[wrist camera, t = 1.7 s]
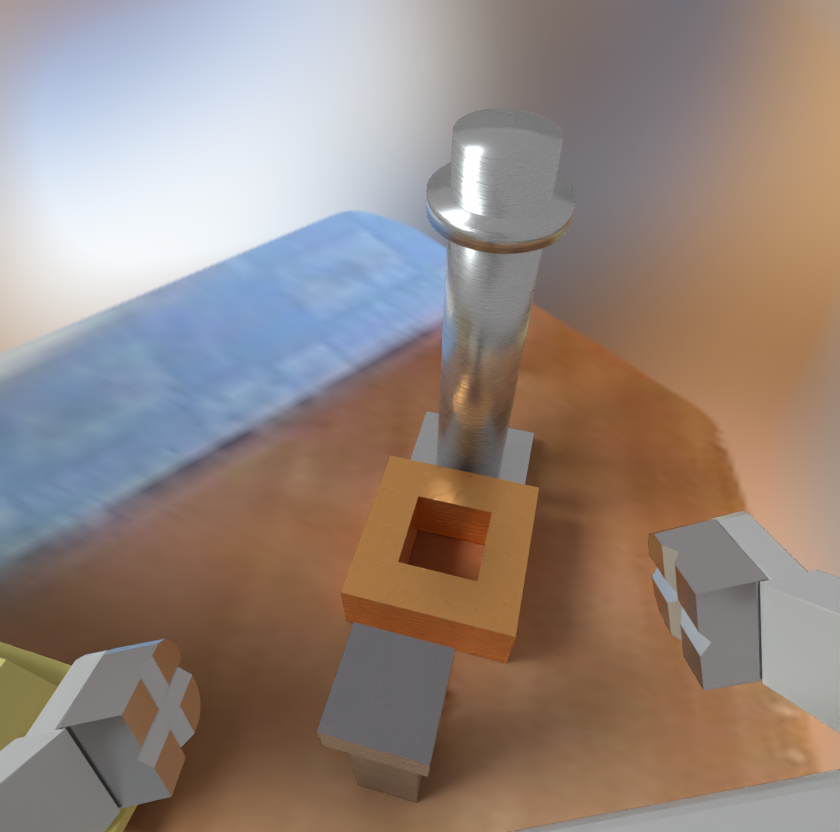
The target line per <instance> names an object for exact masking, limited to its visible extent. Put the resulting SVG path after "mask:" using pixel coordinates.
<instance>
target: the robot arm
mask: <svg viewBox="0 0 840 832" xmlns="http://www.w3.org/2000/svg"><path fill="white" fill-rule="evenodd" d="M648 546H649V555H650V556H651V558H652V560H653V561H654V563H655V564H656V566H657V569H656V571H655V573H654V574H653V576H652V581H653V588H654V594H655V597H656V601H657V604H658V608H659V611H660V613H661V616H662V618H663V620H664V623H665V624H666V626H667V628H668V630H669V632H670V633H671V635H673V636H675V637H676V638H678V639H680V640H682V646H683V656H684V658H685V660H686V661H687V663H688V665H689V666H690V668H691V670H692V672H693V673H694V675H695V677H696V678H697V680H698V682H699V684H700V685H701V687H702V689H703V690H710V689H716V688H721V687H727V686H733V685H739V684H745V683H751V682H757V681H762V682H763V684H764V685H766V686H767V687H769V688H770V689H772V690H773V691H775V692H777V693H778V694H780V695H781V696H783V697H784V698H786V699H787V700H789V701H790V702H792V703H793V704H795V705H797V706H798V707H800V708H801V709H803V710H804V711H806V712H807V713H809V714H810V715H812V716H813V717H815V718H817V719H818V720H820V721H821V722H823V723H825V724H826V725H827V726H829V727H830V728H832V729H834V730H835V731H837V732H838V733H840V578H839V577H836V576H834V575H831V574H828V573H825V572H822V571H820V570H815V571H810V572H808V571H807V570H806V569H804V567H803V566H802V565H801V564H800V563H798V562H797V560H796V559H794V558H793V557H792V556H791V555H790V554H789V553H788V552H787V551H786V550H785V549H784V548H783V547H782V546H781V545H780V544H779V543H778V542H777V541H776V540H775V539H774V538H773V537H772V536H771V535H770V534H769V533H768V532H767V531H766V530H765V529H764V528H763V527H762V526H761V525H760V524H759V523H758V522H757V521H756V520H755V519H754V518H753V517H752V516H751V515H750V514H749V513H747V512H744V511H740V512H736V513H732V514H728V515H724V516H720V517H716V518H711V520H707V521H703V522H698V523H694V524H690V525H685V526H681V527H676V528H672V529H667V530H663V531H658V532H654V533H649V538H648ZM181 657H182V654H181V653H180V651H179V649H178V648H177V646H176V644H175V643H174V641H172V640H168V639H161V640H155V641H150V642H145V643H140V644H135V645H130V646H124V647H119V648H114V649H111V650H105V651H100V652H96V653H91V654H86V655H84V656H82V657H80V658H78V659H77V660H75V662H74V663H73V665H72V666H71V668H70V669H69V671H68V672H67V674H66V675H65V677H64V678H63V680H62V681H61V683H60V684H59V686H58V687H57V689H56V690H55V692H54V694H53V695H52V697H51V698H50V700H49V701H48V703H47V704H46V706H45V707H44V709H43V710H42V712H41V713H40V715H39V716H38V718H37V719H36V721H35V722H34V724H33V725H32V727H31V728H30V730H29V731H28V733H27V734H26V736H25V737H21V738H16V739H15V740H14V741H12V742H11V743H10V744H9V745H7V746H6V747H5V748H4V749H2V750H1V751H0V832H104V831H105V830H106V829H107V828H108V827H109V825H110V824H111V823H112V822H113V820H114V819H115V818H116V817H117V815H118V814H119V813H120V809H121V808H126V807H130V806H134V805H139V804H143V803H147V802H151V801H156V800H160V799H164V798H169V797H172V794H173V791H174V789H175V786H176V783H177V780H178V778H179V775H180V772H181V769H182V767H183V764H184V761H185V758H186V757H185V755H184V753H183V750H182V748H181V747H182V746H183V745H184V744H185V743H186V742H187V741H188V740H189V739H190V738H191V737H192V735H193V734H194V733H195V731H196V728H197V725H198V722H199V719H200V704H201V698H200V694H199V690H198V685H197V683H196V681H195V679H194V677H193V675H192V674H190V673H188V672H187V671H185V670H183V669H181V668H180V667H179V663H180V660H181ZM509 832H840V769H838V770H833V771H828V772H822V773H817V774H812V775H806V776H801V777H796V778H790V779H785V780H780V781H774V782H769V783H764V784H759V785H753V786H748V787H743V788H737V789H732V790H727V791H721V792H716V793H711V794H706V795H700V796H695V797H690V798H684V799H679V800H674V801H668V802H663V803H658V804H652V805H647V806H642V807H636V808H631V809H626V810H621V811H615V812H610V813H605V814H599V815H594V816H589V817H583V818H578V819H573V820H567V821H562V822H557V823H551V824H546V825H541V826H536V827H530V828H525V829H520V830H514V831H509Z"/></svg>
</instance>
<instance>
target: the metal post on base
mask: <svg viewBox="0 0 840 832" xmlns="http://www.w3.org/2000/svg"><path fill="white" fill-rule="evenodd" d="M563 136H564V135H563V132H562V130H561V128H560V127H559V126H558V125H557V124H556V123H555V122H553V121H552V120H550V119H548V118H546V117H544V116H542V115H539V114H536V113H532V112H529V111H524V110H518V109H504V108H502V109H487V110H481V111H477V112H473V113H470V114H468V115H466V116H464V117H462V118H461V119H459V120H458V121H457V122H456V123H455V125H454V128H453V140H452V161H451V163H449V164H447V165H445V166H443V167H441V168H440V169H439V170H437V171H436V172H435V173H434V174H433V175H432V176H431V178H430V180H429V182H428V184H427V204H426V209H427V210H426V212H427V217H428V220H429V222H430V224H431V225H432V227H433V228H434V229H435V230H436V231H437V232H438V233H439V234H441V235H442V236H443V237H445V238H446V239H447V259H446V279H445V298H444V318H443V338H442V358H441V377H440V397H439V414H438V413H433V412H428V411H427V412H426V415H425V418H424V421H423V424H422V427H421V430H420V433H419V436H418V439H417V442H416V445H415V448H414V451H413V454H412V457H411V460H409V459H405V458H400V457H395V456H391V455H390V458H389V461H388V463H387V466H386V469H385V472H384V474H383V477H382V480H381V483H380V485H379V488H378V491H377V494H376V496H375V499H374V502H373V505H372V507H371V510H370V513H369V516H368V518H367V521H366V524H365V527H364V529H363V532H362V535H361V538H360V540H359V543H358V546H357V549H356V551H355V554H354V557H353V560H352V562H351V565H350V568H349V571H348V573H347V576H346V579H345V582H344V584H343V587H342V590H341V596H342V601H343V606H344V611H345V615H346V620H347V622H351V623H354V622H355V623H359V624H363V625H367V626H371V627H374V628H378V629H382V630H386V631H390V632H393V633H397V634H401V635H405V636H409V637H412V638H416V639H420V640H424V641H428V642H431V643H435V644H439V645H443V646H447V647H450V648H454V649H455V650H458V651H461V652H465V653H469V654H473V655H477V656H480V657H484V658H488V659H492V660H496V661H499V662H503V663H507V661H508V658H509V655H510V652H511V649H512V646H513V643H514V641H515V638H516V632H517V626H518V619H519V613H520V607H521V600H522V594H523V588H524V581H525V575H526V568H527V562H528V556H529V549H530V543H531V537H532V530H533V524H534V517H535V511H536V505H537V498H538V492H539V487H534V486H530V485H525V482H526V476H527V470H528V465H529V459H530V453H531V448H532V442H533V436H534V433H532V432H527V431H522V430H517V429H512V428H508V427H509V422H510V417H511V412H512V406H513V401H514V396H515V391H516V385H517V380H518V375H519V370H520V364H521V359H522V354H523V348H524V343H525V338H526V333H527V327H528V322H529V317H530V312H531V306H532V301H533V296H534V291H535V285H536V280H537V275H538V270H539V264H540V259H541V254H542V249H543V248H544V247H546V246H549V245H551V244H553V243H555V242H556V241H558V240H559V239H560V238H562V237H563V236H564V235H565V233H566V232H567V231H568V229H569V227H570V224H571V220H572V216H573V211H574V207H575V203H576V193H575V190H574V188H573V186H572V184H571V183H570V181H569V180H568V179H567V178H566V177H564V176H563V175H562V174H561V173H560V172H558V171H557V169H558V164H559V159H560V154H561V148H562V143H563ZM418 530H422V531H426V532H431V533H435V534H439V535H443V536H448V537H452V538H456V539H461V540H465V541H469V542H473V543H478V544H482V545H485V547H484V552H483V556H482V561H481V566H480V571H479V575H478V580H477V581H474V580H470V579H466V578H462V577H458V576H453V575H449V574H445V573H441V572H437V571H433V570H429V569H425V568H421V567H417V566H412V565H408V561H409V558H410V555H411V551H412V548H413V544H414V541H415V538H416V534H417V531H418Z"/></svg>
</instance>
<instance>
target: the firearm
mask: <svg viewBox="0 0 840 832" xmlns="http://www.w3.org/2000/svg"><path fill="white" fill-rule="evenodd" d="M71 666H72V665H69V664H66V663H63V662H60V661H57V660H54V659H51V658H48V657H45V656H42V655H39V654H36V653H33V652H30V651H27V650H24V649H21V648H18V647H15V646H12V645H9V644H6V643H3V642H0V751H1V750H2V749H4V748H5V747H6V746H7V745H9V744H10V743H11V742H12V741H14V740H15V739H16V738H21V737H25V736H26V734H27V733H28V731H29V730H30V728H31V727H32V725H33V724H34V722H35V721H36V719H37V718H38V716H39V715H40V713H41V712H42V710H43V709H44V707H45V706H46V704H47V703H48V701H49V700H50V698H51V697H52V695H53V694H54V692H55V690H56V689H57V687H58V686H59V684H60V683H61V681H62V680H63V678H64V677H65V675H66V674H67V672H68V671H69V669H70V668H71ZM136 807H137V805H134V806H130V807H126V808H121V809H120V813H119V814H118V815H117V817H116V818H115V819H114V820H113V822H112V823H111V824H110V825H109V827H108V828H107V829H106V830H105V831H104V832H123V831H124V829H125V827H126V825H127V824H128V822H129V820H130V818H131V816H132V814H133V813H134V811H135V809H136Z"/></svg>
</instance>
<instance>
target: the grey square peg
mask: <svg viewBox="0 0 840 832" xmlns="http://www.w3.org/2000/svg"><path fill="white" fill-rule="evenodd" d="M454 650H455V649H454V648H450V647H447V646H443V645H439V644H435V643H431V642H428V641H424V640H420V639H416V638H412V637H409V636H405V635H401V634H397V633H393V632H390V631H386V630H382V629H378V628H374V627H371V626H367V625H363V624H359V623H355V622H354V623H353V626H352V629H351V632H350V635H349V638H348V641H347V644H346V647H345V649H344V652H343V655H342V658H341V661H340V664H339V667H338V670H337V673H336V676H335V679H334V682H333V685H332V688H331V691H330V694H329V697H328V700H327V703H326V706H325V709H324V712H323V715H322V718H321V721H320V724H319V727H318V730H317V734H318V736H319V738H320V740H321V742H322V744H323V746H326V747H329V748H333V749H336V750H339V751H343V752H346V753H347V755H348V757H349V760H350V763H351V766H352V768H353V771H354V774H355V777H356V779H357V782H358V785H360V786H364V787H367V788H370V789H373V790H377V791H380V792H383V793H386V794H390V795H393V796H396V797H399V798H403V799H406V800H409V801H412V802H416V803H417V798H418V794H419V790H420V785H421V781H422V776H426V777H428V774H429V770H430V765H431V761H432V756H433V751H434V747H435V742H436V738H437V733H438V729H439V724H440V719H441V715H442V710H443V706H444V701H445V697H446V692H447V687H448V683H449V678H450V674H451V669H452V664H453V657H454Z"/></svg>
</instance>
